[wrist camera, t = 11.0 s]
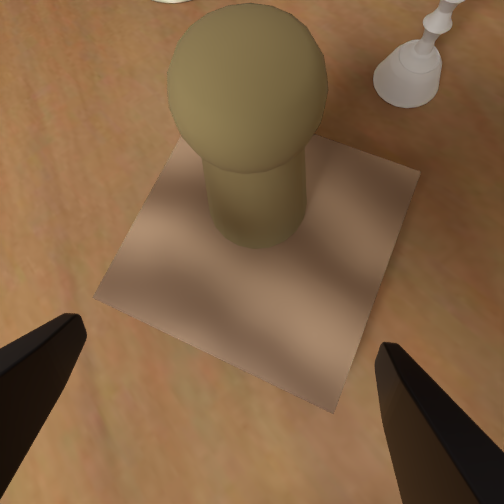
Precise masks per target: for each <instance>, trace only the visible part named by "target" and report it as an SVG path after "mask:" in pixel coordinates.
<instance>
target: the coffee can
mask: <svg viewBox="0 0 504 504" xmlns="http://www.w3.org/2000/svg"><path fill="white" fill-rule="evenodd" d="M153 1H157V2H163V3H180V2H186V1H190V0H153Z"/></svg>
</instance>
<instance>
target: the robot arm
mask: <svg viewBox="0 0 504 504" xmlns="http://www.w3.org/2000/svg"><path fill="white" fill-rule="evenodd" d="M86 338H87V332H86V329H85V326H84V324H83V321H82V318H81V316H80V315H79V314H75V313H64V314H62V315H60V316H58V317H56V318H55V319H53V320H51V321H49V322H47V323H46V324H44V325H42V326H40V327H38V328H37V329H35V330H33V331H31V332H29V333H28V334H26V335H24V336H22V337H20V338H19V339H17V340H15V341H13V342H11V343H9V344H8V345H6V346H4V347H2V348H0V499H1V498H2V496H3V494H4V492H5V491H6V489H7V487H8V485H9V484H10V482H11V480H12V478H13V477H14V475H15V473H16V471H17V470H18V468H19V466H20V464H21V463H22V461H23V459H24V457H25V456H26V454H27V452H28V451H29V449H30V447H31V445H32V444H33V442H34V440H35V438H36V437H37V435H38V433H39V431H40V430H41V428H42V426H43V424H44V423H45V421H46V419H47V417H48V416H49V414H50V412H51V410H52V409H53V407H54V405H55V403H56V402H57V400H58V398H59V396H60V395H61V393H62V391H63V389H64V387H65V385H66V383H67V381H68V379H69V377H70V375H71V373H72V370H73V368H74V366H75V364H76V361H77V359H78V357H79V355H80V352H81V350H82V348H83V346H84V344H85V341H86ZM375 374H376V382H377V389H378V396H379V403H380V411H381V417H382V423H383V427H384V432H385V436H386V440H387V444H388V448H389V452H390V456H391V460H392V463H393V467H394V471H395V475H396V479H397V483H398V487H399V491H400V495H401V499H402V503H403V504H504V452H503V451H502V450H501V449H500V448H499V447H498V446H497V445H496V444H495V443H494V442H493V441H492V440H491V439H490V438H489V437H488V436H487V435H486V434H485V433H484V431H483V430H482V429H481V428H480V427H479V426H478V425H477V424H476V423H475V422H474V421H473V420H472V419H471V418H470V417H469V416H468V415H467V414H466V413H465V412H464V411H463V410H462V409H461V408H460V407H459V406H458V405H457V404H456V403H455V402H454V401H453V400H452V399H451V398H450V397H449V395H448V394H447V393H446V392H445V391H444V390H443V389H442V388H441V387H440V386H439V385H438V384H437V383H436V382H435V381H434V380H433V379H432V378H431V377H430V376H429V375H428V374H427V373H426V372H425V371H424V370H423V369H422V368H421V367H420V366H419V365H418V364H417V363H416V362H415V361H414V359H413V358H412V357H411V356H410V355H409V354H408V353H407V352H406V351H405V350H404V349H403V348H402V347H401V346H400V345H399V344H397V343H391V342H383V343H382V344H381V345H380V348H379V351H378V354H377V357H376V360H375Z"/></svg>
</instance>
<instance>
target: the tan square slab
mask: <svg viewBox="0 0 504 504" xmlns="http://www.w3.org/2000/svg"><path fill="white" fill-rule="evenodd" d="M305 167H306V194H307V206H306V210H305V215H304V219H303V221H302V222H301V224H300V226H299V227H298V229H297V231H296V232H295V233H293V234H292V235H291V236H290V237H289V238H288V239H287V240H285V241H284V242H282V243H279V244H277V245H275V246H272V247H270V248H259V249H252V248H247V247H242V246H238V245H237V244H235V243H233V242H231V241H230V240H228V239H226V238H225V237H224V236H223V235H222V234H221V233H220V231H219V230H218V229H217V228H216V227H215V225H214V222H213V220H212V217H211V215H210V211H209V204H208V197H207V191H206V184H205V177H204V171H203V164H202V158H201V157H200V156H199V155H198V154H197V153H196V152H195V151H194V150H193V149H192V148H191V147H190V146H189V145H188V144H187V142H186V141H185V140H184V139H183V138H182V136H181V137H180V139H179V140H178V142H177V144H176V146H175V148H174V150H173V151H172V153H171V155H170V157H169V159H168V161H167V162H166V164H165V166H164V168H163V170H162V171H161V173H160V175H159V177H158V179H157V181H156V182H155V184H154V186H153V188H152V190H151V192H150V193H149V195H148V197H147V199H146V201H145V203H144V204H143V206H142V208H141V210H140V212H139V214H138V215H137V217H136V219H135V221H134V223H133V224H132V226H131V228H130V230H129V232H128V234H127V235H126V237H125V239H124V241H123V243H122V245H121V246H120V248H119V250H118V252H117V254H116V256H115V257H114V259H113V261H112V263H111V265H110V267H109V268H108V270H107V272H106V274H105V276H104V278H103V279H102V281H101V283H100V285H99V287H98V288H97V290H96V292H95V294H94V296H93V298H94V299H96V300H98V301H100V302H102V303H105V304H107V305H109V306H111V307H113V308H115V309H117V310H119V311H121V312H123V313H125V314H127V315H129V316H131V317H133V318H136V319H138V320H140V321H142V322H144V323H146V324H148V325H150V326H152V327H154V328H156V329H158V330H160V331H162V332H165V333H167V334H169V335H171V336H173V337H175V338H177V339H179V340H181V341H183V342H185V343H187V344H189V345H191V346H193V347H196V348H198V349H200V350H202V351H204V352H206V353H208V354H210V355H212V356H214V357H216V358H218V359H220V360H222V361H225V362H227V363H229V364H231V365H233V366H235V367H237V368H239V369H241V370H243V371H245V372H247V373H249V374H251V375H253V376H256V377H258V378H260V379H262V380H264V381H266V382H268V383H270V384H272V385H274V386H276V387H278V388H280V389H282V390H285V391H287V392H289V393H291V394H293V395H295V396H297V397H299V398H301V399H303V400H305V401H307V402H309V403H311V404H313V405H316V406H318V407H320V408H322V409H324V410H326V411H328V412H330V413H332V414H334V412H335V409H336V406H337V404H338V401H339V398H340V395H341V393H342V390H343V387H344V384H345V381H346V379H347V376H348V373H349V370H350V368H351V365H352V362H353V359H354V357H355V354H356V351H357V348H358V346H359V343H360V340H361V337H362V334H363V332H364V329H365V326H366V323H367V321H368V318H369V315H370V312H371V310H372V307H373V304H374V301H375V298H376V296H377V293H378V290H379V287H380V285H381V282H382V279H383V276H384V274H385V271H386V268H387V265H388V262H389V260H390V257H391V254H392V251H393V249H394V246H395V243H396V240H397V238H398V235H399V232H400V229H401V226H402V224H403V221H404V218H405V215H406V213H407V210H408V207H409V204H410V202H411V199H412V196H413V193H414V190H415V188H416V185H417V182H418V179H419V177H420V174H421V171H418V170H415V169H412V168H409V167H406V166H404V165H401V164H398V163H395V162H392V161H389V160H387V159H384V158H381V157H378V156H375V155H373V154H370V153H367V152H364V151H361V150H358V149H356V148H353V147H350V146H347V145H344V144H341V143H339V142H336V141H333V140H330V139H327V138H324V137H322V136H319V135H316V134H313V136H312V138H311V139H310V141H309V142H308V144H307V145H306V146H305Z"/></svg>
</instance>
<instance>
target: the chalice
mask: <svg viewBox="0 0 504 504" xmlns="http://www.w3.org/2000/svg"><path fill="white" fill-rule="evenodd" d="M463 1H465V0H440V3H439V6H438V8H437V9H436V10H435V11H434V12H433V13H430V14H428V15H427V16H426V17H425V18H424V20H423V25H424V27H425V30H424V33H423V37H422V38H421V39H420V40H411V41H409V42H406V43H404V44H402V45H400V46H398V47H397V48H396V49H395V50H394V51H393V52H392V53H391V54H390V55H388V56H387V58H386V59H385V60H383V61H382V62H381V63H380V64H379V65H378V66H377V68H376V70H375V71H374V76H373V83H374V88H375V90H376V91H377V93H378V94H379V96H380V97H381V98H383V99H384V100H385V101H386V102H388V103H390V104H392V105H394V106H397V107H403V108H413V107H419V106H421V105H424V104H426V103H428V102H429V101H430V100H431V99H432V98H434V96H435V94H436V93H437V91H438V88H439V79H440V74H441V68H442V60H441V56H440V54H439V51H438V50H437V49H436V47H435V46H434V43H435V40H436V39H437V38H438V37H439V36H440V35H441V34H442V33H445V32H447V31H449V30H450V29H451V27H452V19H451V15H452V12H453V10H454V9H455V8H456V7H457V6H458V4H459V3H461V2H463Z"/></svg>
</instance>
